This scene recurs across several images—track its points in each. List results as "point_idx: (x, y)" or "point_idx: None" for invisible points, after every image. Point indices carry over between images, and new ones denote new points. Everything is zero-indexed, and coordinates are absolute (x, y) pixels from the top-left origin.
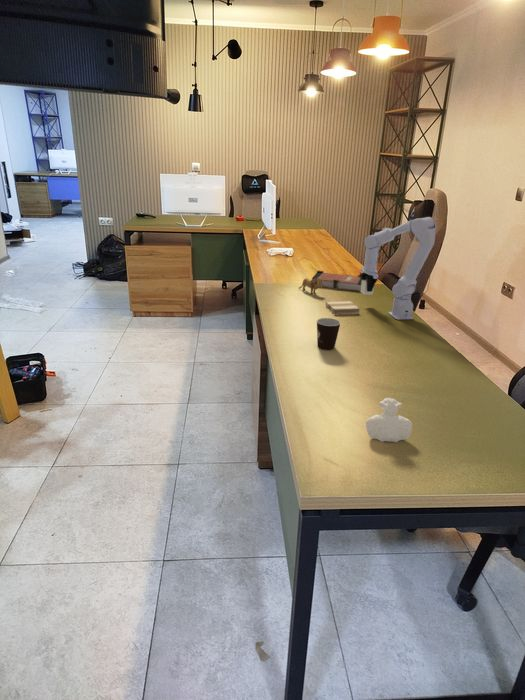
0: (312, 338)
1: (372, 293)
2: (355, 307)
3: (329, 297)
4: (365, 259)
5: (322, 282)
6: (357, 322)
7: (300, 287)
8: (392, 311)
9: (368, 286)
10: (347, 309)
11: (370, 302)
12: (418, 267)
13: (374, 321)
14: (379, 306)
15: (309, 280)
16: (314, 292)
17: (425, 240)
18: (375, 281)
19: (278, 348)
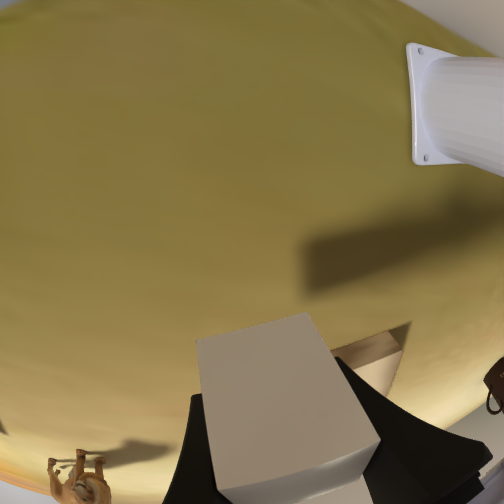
0: (463, 396)
1: (310, 324)
2: (380, 367)
3: (112, 427)
4: None
5: (82, 492)
6: (452, 332)
7: (59, 473)
8: (464, 162)
9: None
10: (387, 389)
11: (140, 229)
12: None
13: (469, 272)
14: (257, 171)
15: (74, 501)
16: (83, 456)
17: None
18: (442, 437)
19: (460, 416)
